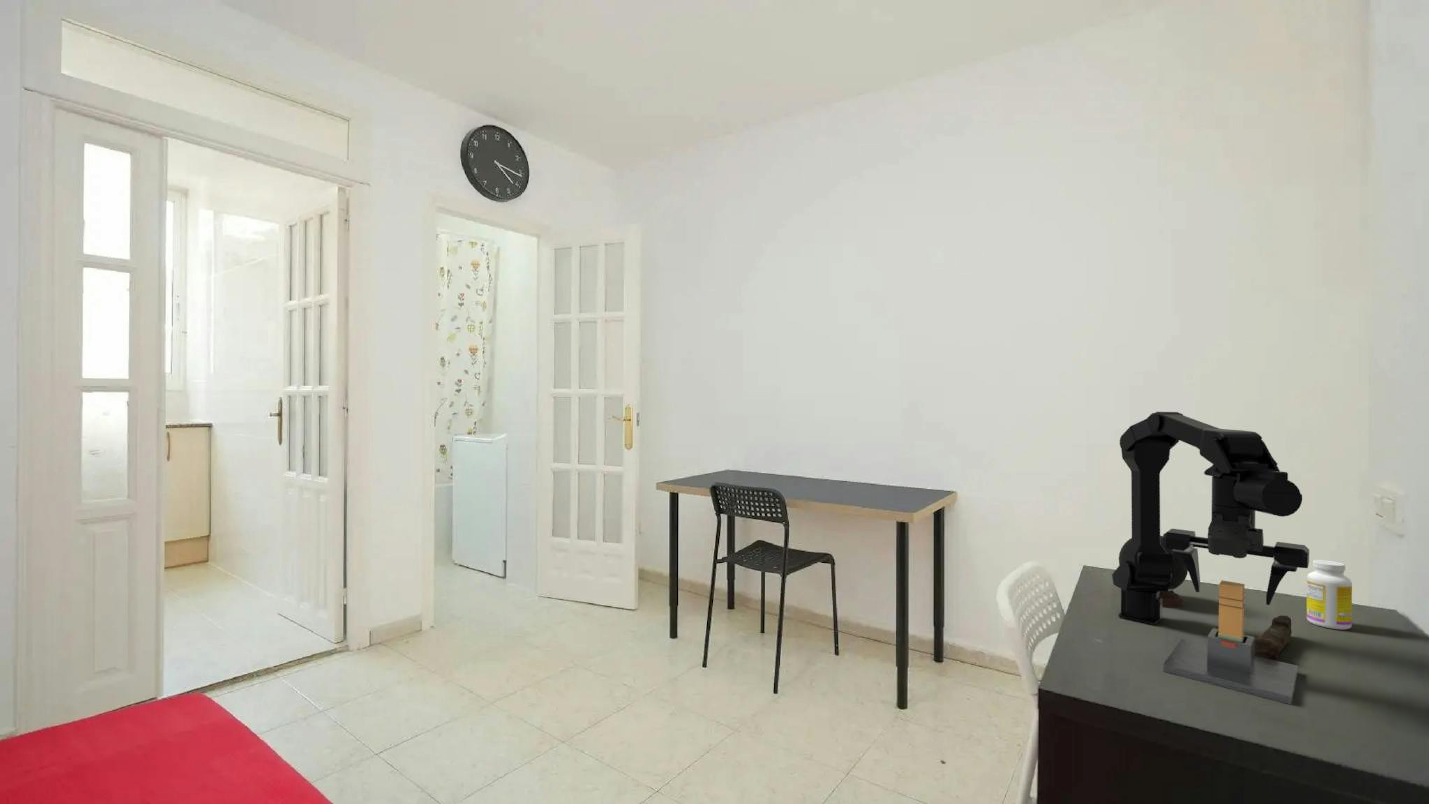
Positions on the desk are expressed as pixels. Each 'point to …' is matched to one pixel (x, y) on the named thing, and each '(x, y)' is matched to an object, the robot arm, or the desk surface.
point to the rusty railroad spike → (1274, 638)
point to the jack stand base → (1233, 667)
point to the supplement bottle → (1329, 596)
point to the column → (1231, 611)
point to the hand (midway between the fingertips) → (1231, 597)
